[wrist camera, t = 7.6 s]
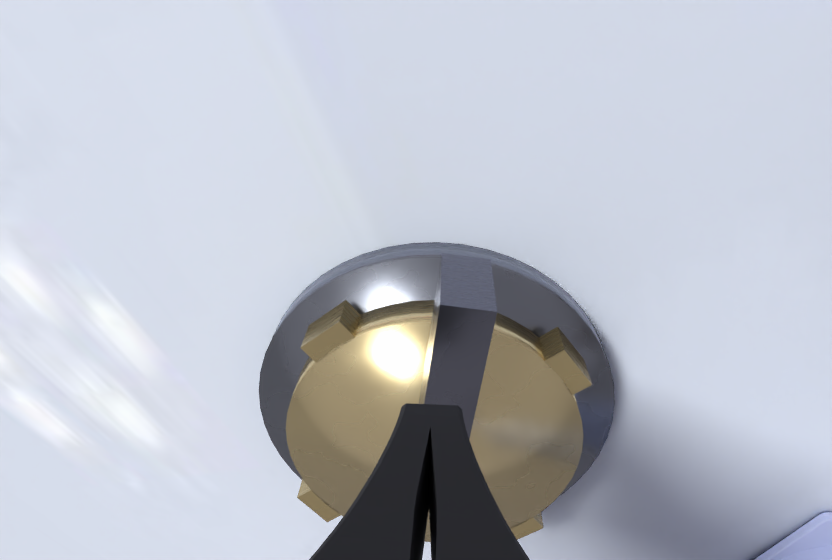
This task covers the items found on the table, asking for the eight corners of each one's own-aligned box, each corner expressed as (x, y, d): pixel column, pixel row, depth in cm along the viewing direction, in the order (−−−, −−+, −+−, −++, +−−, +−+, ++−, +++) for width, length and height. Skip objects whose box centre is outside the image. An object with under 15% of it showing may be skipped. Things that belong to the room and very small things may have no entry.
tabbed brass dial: (409, 559, 27) (402, 658, 23) (211, 391, 23) (163, 480, 19) (653, 447, 23) (694, 546, 19) (469, 214, 19) (473, 282, 15)
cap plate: (682, 352, 22) (694, 371, 21) (483, 546, 29) (484, 568, 28) (363, 171, 20) (358, 183, 19) (218, 431, 26) (208, 451, 25)
